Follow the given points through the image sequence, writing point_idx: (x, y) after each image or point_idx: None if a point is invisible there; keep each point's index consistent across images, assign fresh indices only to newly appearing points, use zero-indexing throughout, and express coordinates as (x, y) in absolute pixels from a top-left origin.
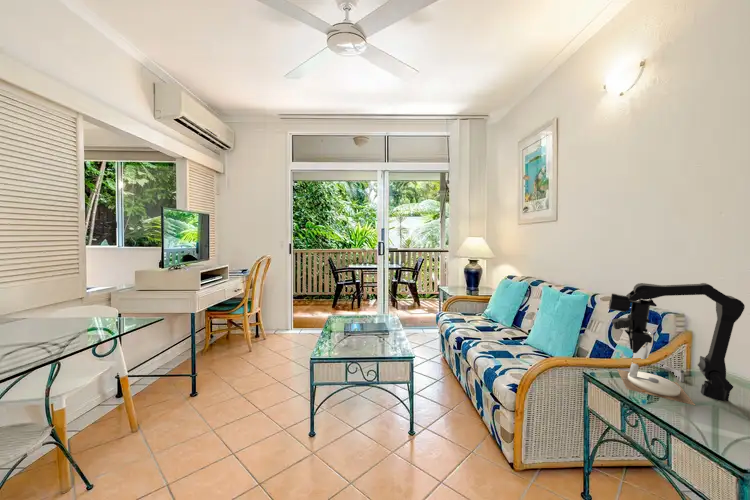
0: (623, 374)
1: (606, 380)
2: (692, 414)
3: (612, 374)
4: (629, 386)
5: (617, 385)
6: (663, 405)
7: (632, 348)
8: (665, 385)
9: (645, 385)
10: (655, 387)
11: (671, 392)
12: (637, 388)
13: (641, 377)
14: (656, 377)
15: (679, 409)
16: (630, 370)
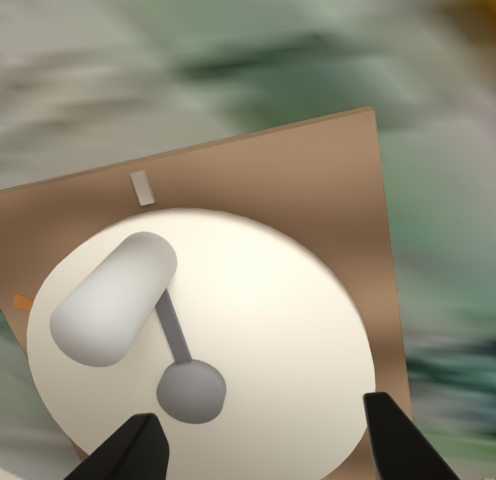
0: (260, 173)
1: (62, 40)
2: (39, 462)
3: (276, 73)
4: (16, 223)
5: (43, 134)
6: (9, 371)
7: (110, 475)
8: (183, 441)
9: (39, 333)
10: (71, 385)
11: (86, 452)
12: (36, 271)
13: (198, 317)
14: (309, 411)
15: (39, 426)
16: (105, 260)
